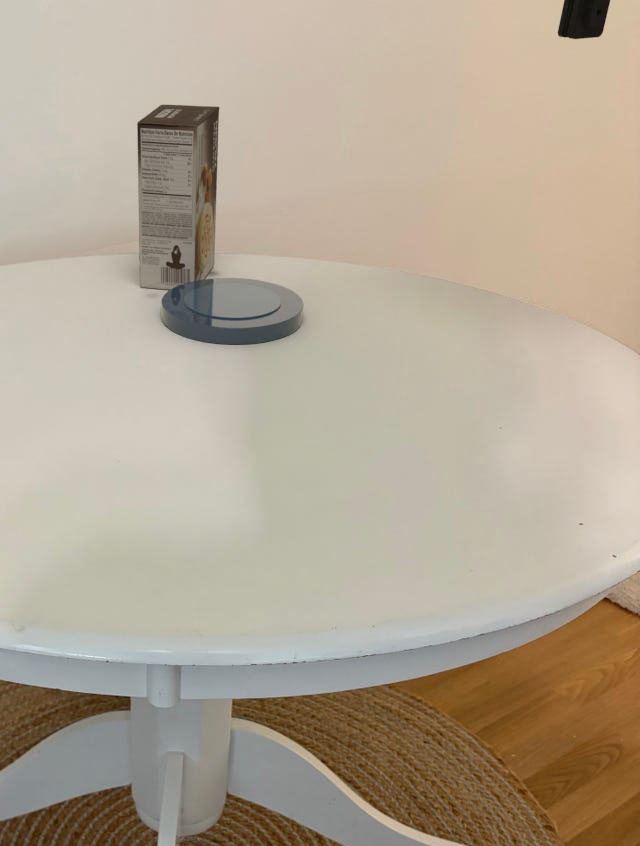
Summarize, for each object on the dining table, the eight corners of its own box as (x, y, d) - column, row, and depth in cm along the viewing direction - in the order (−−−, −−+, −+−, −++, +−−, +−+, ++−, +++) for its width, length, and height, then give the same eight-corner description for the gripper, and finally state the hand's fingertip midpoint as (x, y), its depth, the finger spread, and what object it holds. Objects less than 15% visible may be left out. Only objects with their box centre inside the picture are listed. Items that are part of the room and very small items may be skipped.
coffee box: (160, 261, 112) (160, 102, 102) (215, 266, 110) (221, 105, 100) (137, 288, 105) (135, 120, 95) (196, 293, 104) (200, 124, 94)
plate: (327, 311, 100) (329, 294, 98) (255, 356, 91) (257, 337, 90) (210, 284, 106) (211, 267, 105) (133, 323, 97) (133, 305, 96)
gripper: (784, -289, 63) (690, 45, 74) (607, -266, 73) (548, 23, 85) (700, -295, 60) (615, 52, 71) (529, -270, 71) (479, 29, 82)
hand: (579, 36), depth 78 cm, fingers closed
